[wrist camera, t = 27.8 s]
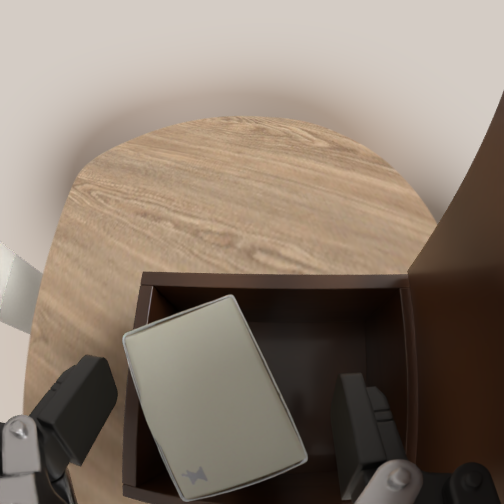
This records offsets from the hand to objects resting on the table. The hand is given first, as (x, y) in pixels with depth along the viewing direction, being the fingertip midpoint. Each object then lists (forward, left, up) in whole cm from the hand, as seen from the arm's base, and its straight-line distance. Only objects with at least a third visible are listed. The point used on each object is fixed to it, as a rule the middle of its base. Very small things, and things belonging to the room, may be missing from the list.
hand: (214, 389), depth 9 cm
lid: (+8, 0, +4) cm, 9 cm away
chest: (+2, 0, -12) cm, 12 cm away
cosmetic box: (0, -1, -11) cm, 11 cm away
